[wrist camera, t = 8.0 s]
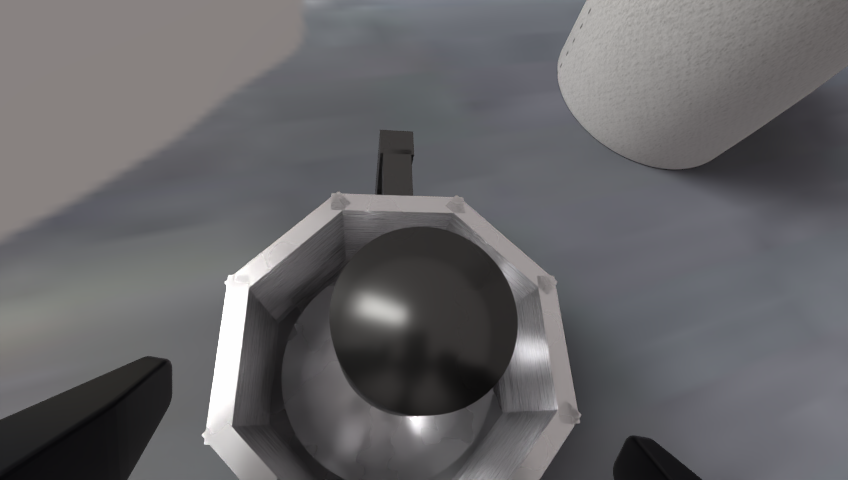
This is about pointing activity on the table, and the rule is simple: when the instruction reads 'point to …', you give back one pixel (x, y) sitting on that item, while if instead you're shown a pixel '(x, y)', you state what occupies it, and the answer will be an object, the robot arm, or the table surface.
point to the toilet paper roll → (695, 71)
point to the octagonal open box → (321, 266)
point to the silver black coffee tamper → (400, 356)
